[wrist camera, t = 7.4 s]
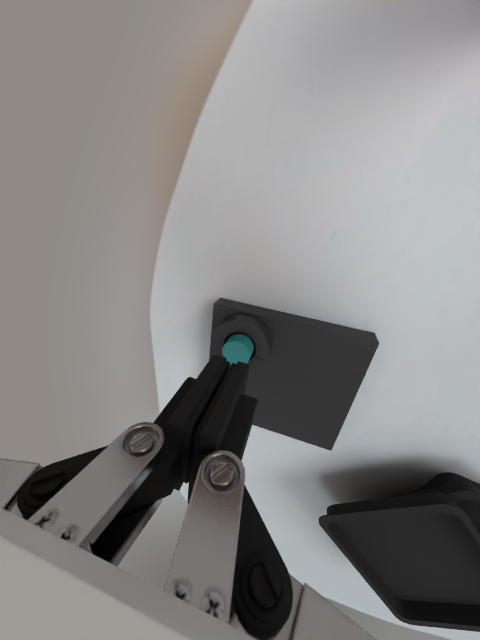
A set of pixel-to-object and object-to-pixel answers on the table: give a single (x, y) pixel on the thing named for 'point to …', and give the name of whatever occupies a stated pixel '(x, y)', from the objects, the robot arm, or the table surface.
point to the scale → (297, 368)
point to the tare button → (238, 348)
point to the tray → (417, 550)
